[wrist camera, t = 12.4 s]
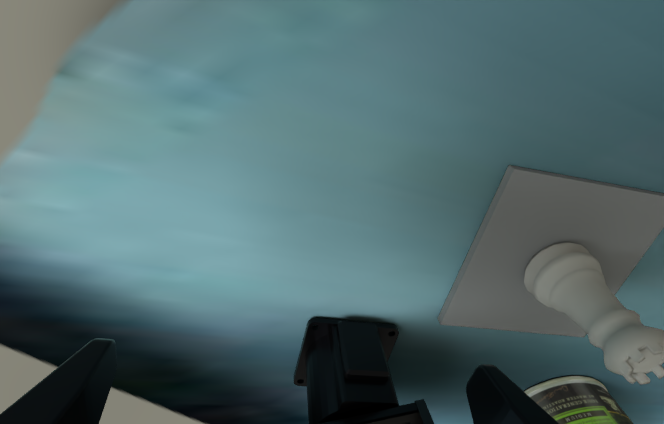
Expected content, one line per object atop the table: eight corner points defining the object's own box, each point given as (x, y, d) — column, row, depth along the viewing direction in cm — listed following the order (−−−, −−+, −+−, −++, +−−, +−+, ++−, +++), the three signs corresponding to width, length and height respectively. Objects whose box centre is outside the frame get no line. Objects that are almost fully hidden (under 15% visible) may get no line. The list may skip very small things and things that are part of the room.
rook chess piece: (508, 267, 25) (592, 370, 18) (570, 225, 24) (685, 319, 17) (537, 302, 27) (624, 408, 20) (595, 265, 26) (709, 364, 19)
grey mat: (578, 331, 30) (584, 337, 30) (437, 318, 28) (440, 324, 27) (675, 195, 25) (683, 199, 24) (508, 164, 22) (514, 169, 22)
